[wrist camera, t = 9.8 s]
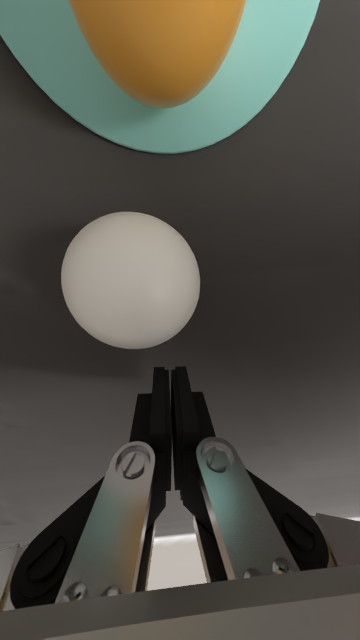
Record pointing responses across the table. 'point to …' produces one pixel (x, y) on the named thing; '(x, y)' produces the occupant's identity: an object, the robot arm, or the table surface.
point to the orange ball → (159, 44)
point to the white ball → (130, 280)
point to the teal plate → (141, 120)
